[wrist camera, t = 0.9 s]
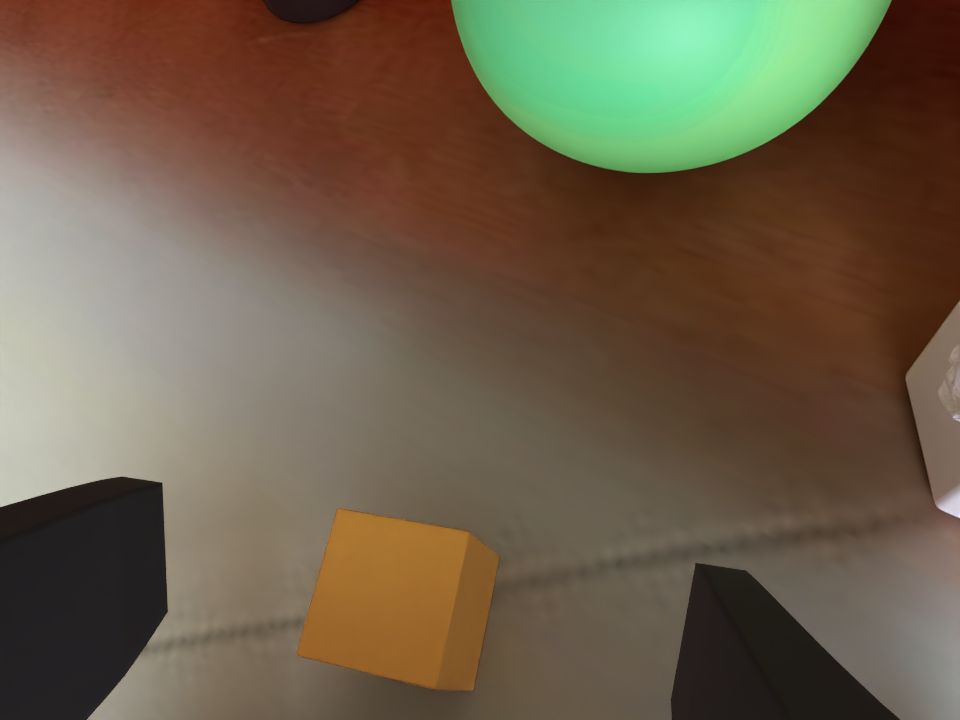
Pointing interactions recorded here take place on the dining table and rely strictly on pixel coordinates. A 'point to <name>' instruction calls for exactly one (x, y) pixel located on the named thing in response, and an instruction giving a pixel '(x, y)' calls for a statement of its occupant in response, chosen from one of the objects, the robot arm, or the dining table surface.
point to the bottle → (307, 9)
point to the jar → (939, 411)
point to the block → (401, 601)
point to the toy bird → (661, 72)
